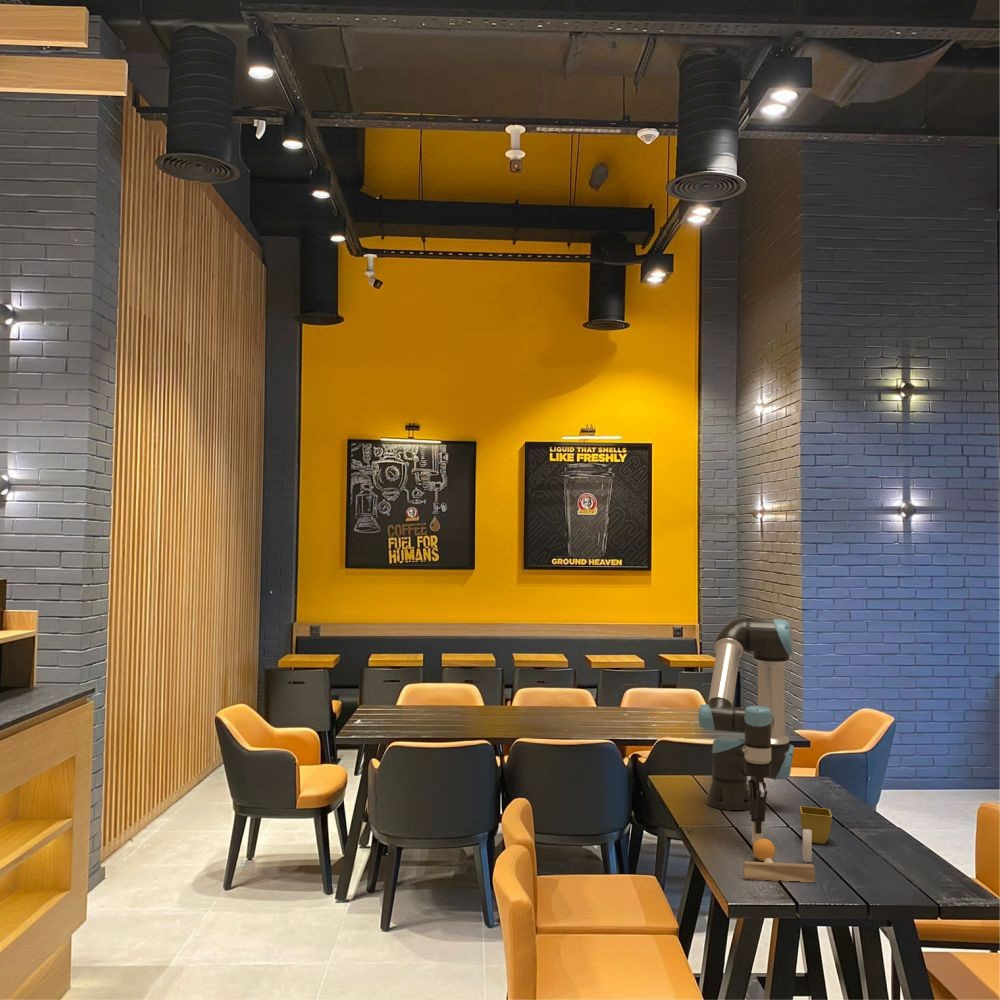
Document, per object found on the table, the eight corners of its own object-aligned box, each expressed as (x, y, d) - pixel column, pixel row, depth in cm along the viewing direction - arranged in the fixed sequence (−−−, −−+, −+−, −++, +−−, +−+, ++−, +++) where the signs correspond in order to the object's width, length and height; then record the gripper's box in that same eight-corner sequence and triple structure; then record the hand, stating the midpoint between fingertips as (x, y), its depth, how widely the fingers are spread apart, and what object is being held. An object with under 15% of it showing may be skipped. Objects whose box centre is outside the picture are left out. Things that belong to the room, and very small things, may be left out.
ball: (756, 852, 248) (753, 865, 251) (778, 853, 247) (775, 866, 251) (752, 833, 253) (749, 846, 256) (774, 834, 252) (771, 847, 256)
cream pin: (763, 858, 247) (770, 868, 239) (772, 857, 247) (779, 868, 238) (764, 867, 247) (771, 878, 238) (773, 866, 247) (780, 877, 238)
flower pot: (829, 838, 274) (829, 808, 274) (832, 847, 265) (832, 816, 266) (799, 835, 276) (799, 805, 277) (800, 844, 268) (800, 813, 268)
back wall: (743, 876, 238) (743, 861, 238) (812, 879, 237) (812, 864, 238) (745, 879, 236) (745, 864, 236) (814, 882, 235) (814, 866, 236)
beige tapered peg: (801, 859, 253) (801, 828, 254) (810, 860, 253) (810, 829, 254) (804, 862, 251) (804, 831, 251) (812, 862, 251) (812, 831, 251)
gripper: (739, 755, 269) (739, 836, 267) (749, 765, 256) (749, 850, 254) (765, 756, 269) (764, 837, 267) (776, 766, 256) (776, 851, 254)
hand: (757, 843), depth 261 cm, fingers closed
